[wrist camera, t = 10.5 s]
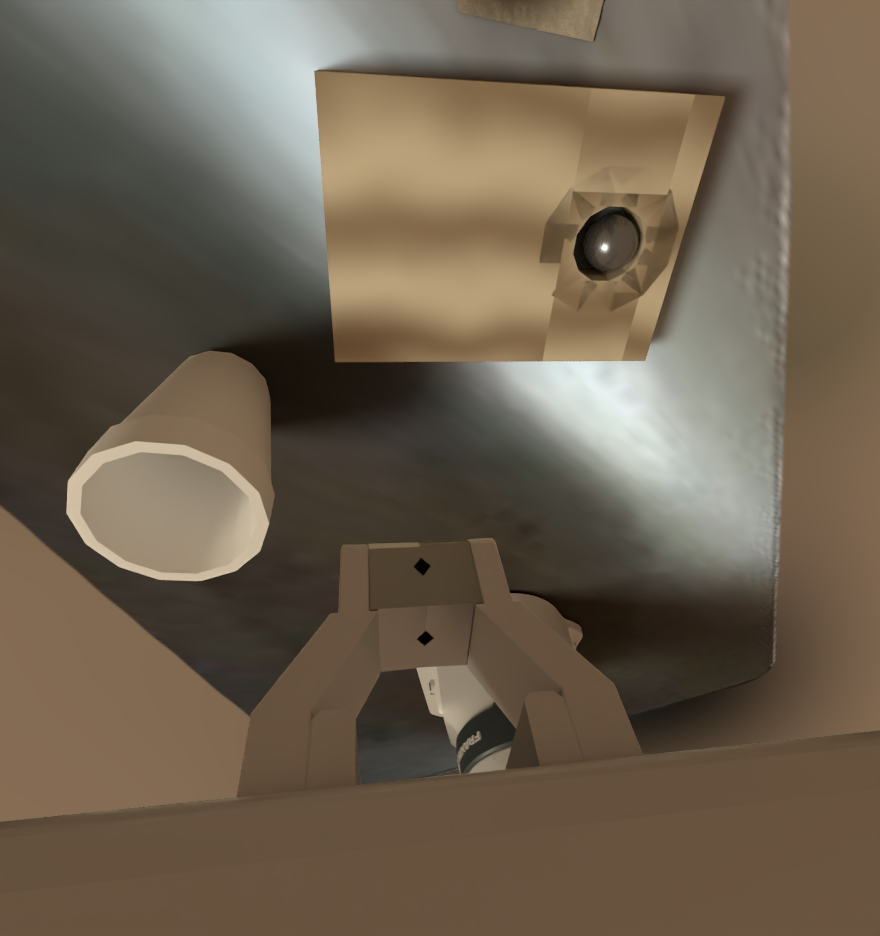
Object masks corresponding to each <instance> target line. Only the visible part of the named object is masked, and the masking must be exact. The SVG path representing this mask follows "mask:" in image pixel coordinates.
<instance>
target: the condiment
mask: <svg viewBox="0 0 880 936" xmlns="http://www.w3.org/2000/svg"><path fill="white" fill-rule="evenodd" d="M602 4H603V0H458V7H457V12H459V13H464V14H468V15H473V16H476V17H481V18H486V19H490V20H495V21H500V22H504V23H508V24H513V25H517V26H522V27H527V28H531V29H537V30H539V31H545V32H550V33H554V34H559V35H563V36H568V37H573V38H578V39H582V40H587V41H591V42H593V40H594V36H595V32H596V28H597V25H598V21H599V17H600V13H601V8H602Z"/></svg>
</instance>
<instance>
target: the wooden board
mask: <svg viewBox="0 0 880 936" xmlns="http://www.w3.org/2000/svg"><path fill="white" fill-rule="evenodd" d="M314 72H315V86H316V100H317V114H318V128H319V142H320V156H321V171H322V185H323V199H324V213H325V227H326V241H327V255H328V270H329V284H330V298H331V312H332V326H333V340H334V355H335V362H486V361H645V359H646V356H647V353H648V349H649V346H650V343H651V339H652V336H653V333H654V330H655V326H656V323H657V320H658V317H659V313H660V310H661V307H662V303H663V300H664V297H665V294H666V290H667V287H668V284H669V280H670V277H671V274H672V271H673V267H674V264H675V261H676V258H677V254H678V251H679V248H680V244H681V241H682V238H683V235H684V231H685V228H686V225H687V222H688V218H689V215H690V212H691V208H692V205H693V202H694V199H695V195H696V192H697V189H698V185H699V182H700V179H701V176H702V172H703V169H704V166H705V163H706V159H707V156H708V153H709V149H710V146H711V143H712V140H713V136H714V133H715V130H716V126H717V123H718V120H719V117H720V113H721V110H722V107H723V104H724V100H725V96H716V95H706V94H692V93H676V92H660V91H644V90H628V89H611V88H595V87H579V86H563V85H547V84H531V83H515V82H499V81H483V80H467V79H450V78H434V77H418V76H402V75H386V74H370V73H354V72H338V71H322V70H317V71H314ZM608 206H612V207H622V208H624V211H625V215H626V218H628V219H629V220H630V221H631V222H632V223H633V224H634V226H635V227H636V229H637V232H638V247H637V250H636V253H635V255H634V256H633V258H632V259H631V260H630V262H629V263H627V264H626V265H625V266H623V267H622V268H620V269H617V270H614V271H601V270H598V269H596V268H595V269H594V268H578V267H577V264H576V261H575V258H574V256H573V252H574V247H575V242H576V237H577V234H578V232H579V231H580V229H581V228H582V227H583V225H584V224H585V223H586V221H587V220H588V218H589V217H590V216H592V215H594V214H595V213H597V212H599V211H601V210H603V209H604V208H606V207H608Z"/></svg>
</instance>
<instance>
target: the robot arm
mask: <svg viewBox="0 0 880 936" xmlns="http://www.w3.org/2000/svg"><path fill="white" fill-rule="evenodd" d="M582 637H583V634H582V630H581V627H580V626H579V625H578V624H577V623H575V622H572V621H570V620H567V619H565V618H564V617H563V616H562V615H561V614H560V613H559V611H558V610H557V609H556V608H555V607H554V606H553V605H552V604H550V603H549V602H547V601H546V600H544V599H541V598H539V597H536V596H532V595H527V594H519V593H510V591H509V588H508V584H507V581H506V578H505V574H504V571H503V567H502V564H501V560H500V557H499V553H498V550H497V546H496V543H495V541H494V540H493V539H492V538H483V539H468V540H450V541H432V542H418V543H385V544H369V551H368V545H342V548H341V559H340V585H339V612H338V613H332V614H330V615H329V616H328V618H327V619H326V620H325V621H324V623H323V624H322V625H321V626H320V628H319V629H318V630H317V631H316V633H315V634H314V635H313V636H312V638H311V639H310V640H309V641H308V643H307V644H306V645H305V646H304V648H303V649H302V650H301V651H300V653H299V654H298V655H297V656H296V658H295V659H294V660H293V662H292V663H291V664H290V665H289V667H288V668H287V669H286V670H285V672H284V673H283V674H282V675H281V677H280V678H279V679H278V680H277V682H276V683H275V684H274V685H273V687H272V688H271V689H270V690H269V692H268V693H267V694H266V695H265V697H264V698H263V699H262V700H261V702H260V703H259V704H258V705H257V707H256V708H255V709H254V711H253V712H252V713H251V716H250V722H249V728H248V734H247V740H246V745H245V751H244V758H243V763H242V769H241V775H240V781H239V786H238V792H237V797H236V798H225V799H216V800H206V801H197V802H187V803H177V804H168V805H158V806H148V807H139V808H129V809H120V810H110V811H101V812H91V813H81V814H72V815H62V816H52V817H43V818H33V819H23V820H14V821H4V822H0V936H880V731H871V732H861V733H852V734H842V735H833V736H824V737H813V738H804V739H795V740H785V741H775V742H766V743H756V744H746V745H737V746H728V747H718V748H708V749H698V750H689V751H679V752H670V753H660V754H651V755H643V753H642V751H641V748H640V746H639V744H638V741H637V739H636V737H635V734H634V731H633V729H632V727H631V724H630V722H629V719H628V717H627V714H626V712H625V709H624V707H623V704H622V702H621V699H620V697H619V695H618V692H617V690H616V687H615V685H614V683H613V682H611V681H610V680H609V679H608V678H607V677H606V676H605V675H603V674H602V673H601V672H600V671H599V670H598V669H597V668H595V667H594V666H593V665H592V664H591V663H590V662H589V661H587V660H586V659H585V658H584V657H583V656H582V655H581V654H579V653H578V652H577V651H576V647H577V645H578V644H579V642H580V641H581V639H582ZM411 668H416V669H417V672H418V675H419V678H420V682H421V685H422V688H423V692H424V695H425V698H426V701H427V705H428V708H429V711H430V713H431V714H433V715H436V716H440V717H444V721H445V725H446V728H447V732H448V735H449V738H450V742H451V744H452V745H453V746H454V747H456V751H457V756H458V757H457V762H458V767H459V771H460V774H456V775H446V776H437V777H427V778H418V779H408V780H398V781H389V782H379V783H370V784H360V771H359V758H358V745H357V732H356V717H357V716H358V714H359V712H360V710H361V708H362V707H363V705H364V703H365V701H366V699H367V697H368V696H369V694H370V692H371V690H372V688H373V687H374V685H375V683H376V681H377V679H378V677H379V676H380V672H383V671H392V670H402V669H411Z"/></svg>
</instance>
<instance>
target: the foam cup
mask: <svg viewBox="0 0 880 936" xmlns="http://www.w3.org/2000/svg"><path fill="white" fill-rule="evenodd" d="M274 496H275V494H274V491H273V488H272V484H271V402H270V394H269V390H268V387H267V383H266V379H265V378H264V377H263V376H262V375H261V374H260V372H259V371H258V370H257V369H256V368H255V367H254V365H253V364H252V363H250V362H248V361H246V360H244V359H242V358H240V357H238V356H236V355H235V354H233V353H227V352H218V351H206V352H203V353H200V354H197V355H194V356H190V357H189V358H188V359H187V360H185V361H184V362H183V363H182V364H181V365H180V366H179V367H178V368H177V369H176V370H175V371H174V372H173V373H172V374H171V375H170V376H169V377H168V378H167V379H166V380H165V381H164V382H163V383H162V384H161V385H160V386H159V387H158V388H157V389H156V390H154V391H153V392H152V393H151V394H150V395H149V396H148V397H147V398H146V399H145V400H144V401H143V402H142V403H141V404H140V405H139V406H138V407H137V408H136V409H135V410H134V411H133V412H132V413H131V414H130V415H129V416H128V417H127V418H126V419H125V420H124V421H123V422H122V423H121V424H118V425H115V426H111V427H110V428H109V430H108V431H107V432H106V433H105V434H104V435H103V436H102V437H101V438H100V439H99V440H98V442H97V443H96V444H95V445H94V446H93V447H92V448H91V449H90V450H89V451H88V453H87V454H86V456H85V457H84V458H83V460H82V461H81V463H80V464H79V466H78V467H77V468H76V470H75V471H74V473H73V474H72V476H71V477H70V479H69V480H68V492H67V515H68V516H69V518H70V519H71V521H72V523H73V524H74V526H75V528H76V529H77V531H78V532H79V534H80V536H81V537H82V539H83V540H84V542H85V544H87V545H88V546H90V547H91V548H93V549H94V550H95V551H97V552H98V553H100V554H101V555H103V556H104V557H105V558H107V559H108V560H110V561H111V562H113V563H114V564H116V565H117V566H118V567H121V568H124V569H127V570H130V571H134V572H137V573H140V574H143V575H146V576H149V577H153V578H156V579H159V580H185V581H202V580H206V579H209V578H213V577H216V576H220V575H223V574H227V573H230V572H234V571H236V570H238V569H239V568H240V567H241V566H242V565H244V564H245V563H246V562H247V561H249V560H250V559H251V558H252V557H253V556H255V555H256V554H257V553H258V552H260V550H261V547H262V544H263V541H264V538H265V535H266V532H267V528H268V525H269V522H270V516H271V511H272V506H273V501H274Z"/></svg>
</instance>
